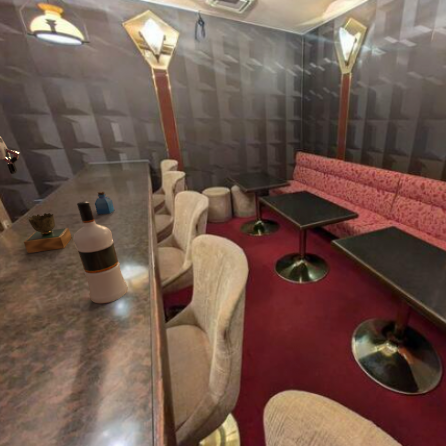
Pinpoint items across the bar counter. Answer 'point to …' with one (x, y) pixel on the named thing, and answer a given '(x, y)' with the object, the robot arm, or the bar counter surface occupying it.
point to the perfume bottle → (103, 204)
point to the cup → (43, 223)
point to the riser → (48, 240)
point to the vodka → (98, 258)
